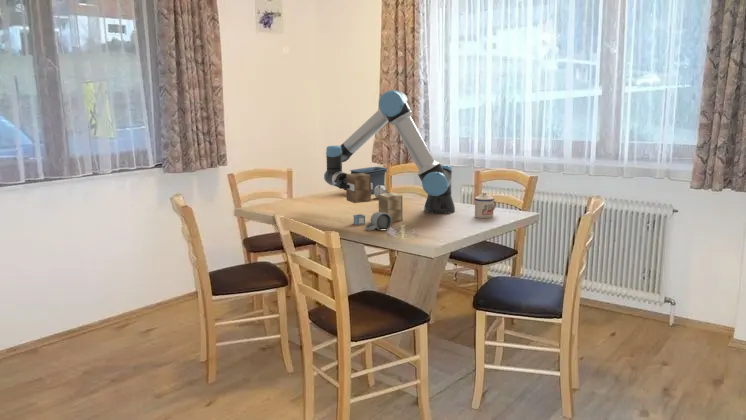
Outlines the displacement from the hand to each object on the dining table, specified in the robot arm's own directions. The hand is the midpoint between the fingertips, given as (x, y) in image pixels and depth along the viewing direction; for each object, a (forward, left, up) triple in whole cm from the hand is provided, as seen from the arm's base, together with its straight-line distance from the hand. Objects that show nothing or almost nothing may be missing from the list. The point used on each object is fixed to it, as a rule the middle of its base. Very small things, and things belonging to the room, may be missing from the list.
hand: (362, 187), depth 269 cm
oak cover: (-4, -16, -18) cm, 24 cm away
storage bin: (+48, -74, -18) cm, 90 cm away
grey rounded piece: (+31, -61, -18) cm, 71 cm away
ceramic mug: (-10, +3, -18) cm, 21 cm away
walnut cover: (+4, -2, -7) cm, 8 cm away
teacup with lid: (-39, -46, -18) cm, 63 cm away
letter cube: (+4, -2, -18) cm, 18 cm away
